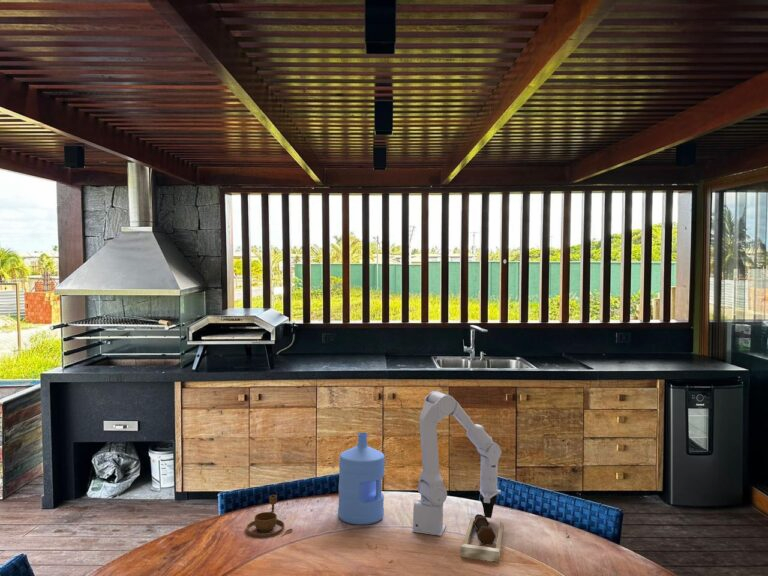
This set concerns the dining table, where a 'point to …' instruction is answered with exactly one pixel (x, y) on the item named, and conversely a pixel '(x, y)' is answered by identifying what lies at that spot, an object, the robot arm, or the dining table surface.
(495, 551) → the guide channel
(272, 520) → the place setting
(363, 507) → the water jug
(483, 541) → the bolt
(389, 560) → the dining table surface
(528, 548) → the dining table surface
